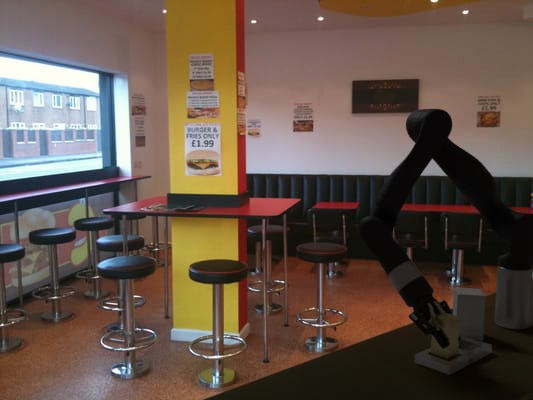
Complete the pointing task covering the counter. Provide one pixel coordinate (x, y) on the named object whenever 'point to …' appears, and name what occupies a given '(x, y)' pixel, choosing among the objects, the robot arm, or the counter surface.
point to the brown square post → (447, 336)
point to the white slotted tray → (466, 355)
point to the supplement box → (470, 312)
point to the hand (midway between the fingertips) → (452, 343)
